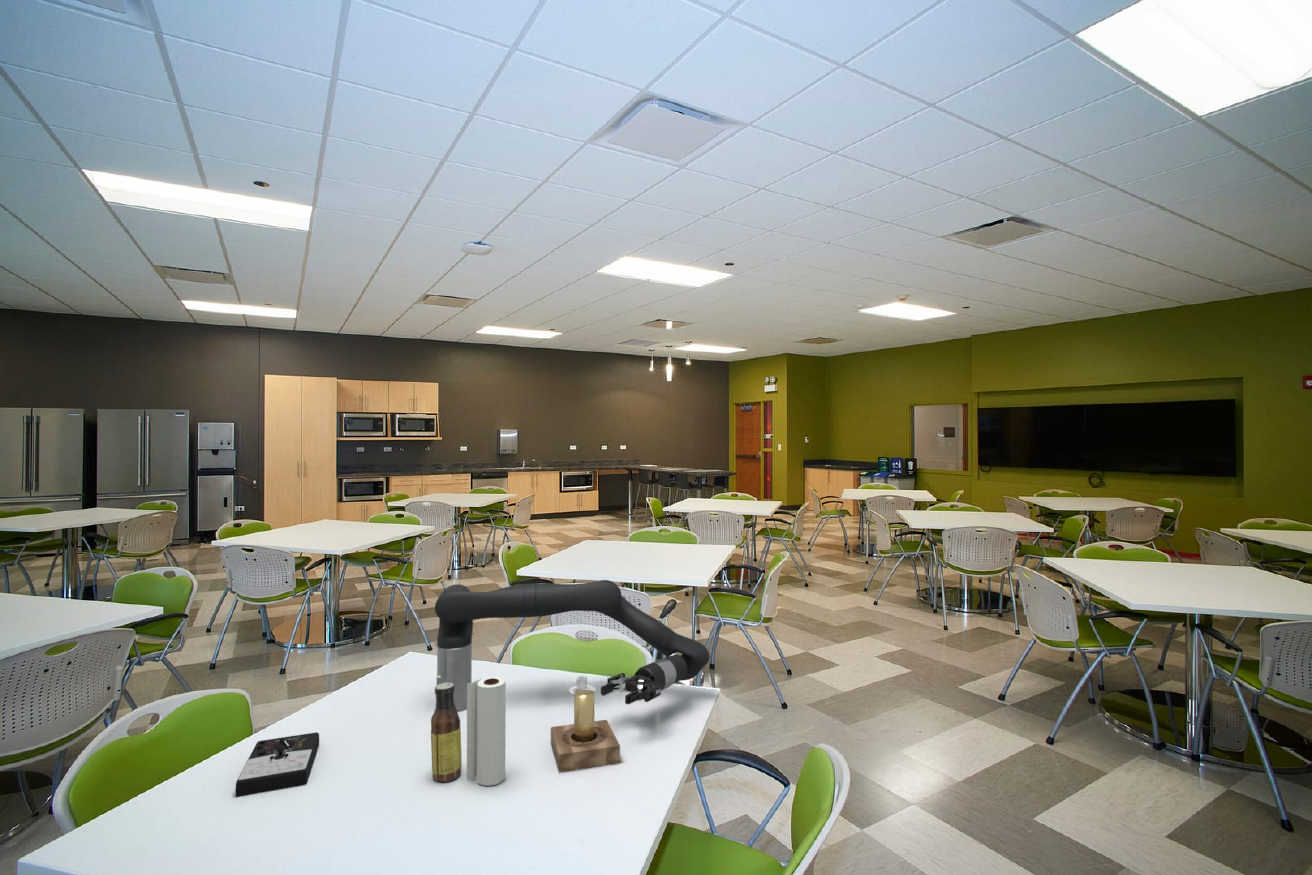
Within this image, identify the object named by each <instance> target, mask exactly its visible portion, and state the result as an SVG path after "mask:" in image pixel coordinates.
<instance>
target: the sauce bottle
mask: <svg viewBox="0 0 1312 875" xmlns="http://www.w3.org/2000/svg"><path fill="white" fill-rule="evenodd" d="M453 692H454V684H453V683H449V682H448V683H441V684H438V685H437V684H436V686H435V687H434V694H435V709H434V712H433V714H432V716H431V719H430V729H431V730H430V747H431V748H430V749H431V773H432V779H433V780H435V781H437V782H440V783H447V782H451V781H453V780H455V779H457V778H458V777H459V776H460V775H461V773H462V765H463V764H462V733H461V731H462V730H461V718H460V715H459V713H458V711H457V710H456V707H455V704H454V694H453Z"/></svg>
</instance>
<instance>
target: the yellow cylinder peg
mask: <svg viewBox="0 0 1312 875" xmlns="http://www.w3.org/2000/svg"><path fill="white" fill-rule="evenodd" d="M594 721H595V692H594V691H592V690H579V691H578V690H576V691H575V692H574V695H573V724H574V741H576V742H582V743H584V742H590V741H593V740H594Z"/></svg>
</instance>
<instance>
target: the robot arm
mask: <svg viewBox="0 0 1312 875" xmlns="http://www.w3.org/2000/svg"><path fill="white" fill-rule="evenodd" d="M434 611H435V615H436V616H437V617H438V618H439V619H438V620H439V621H438V622H439V625H438V633H437V637H436V642H437V643H436V644H437V646H436V649H437V651H436V652H437V654H436V655H437V658H436V685H438V684H441V683H448V682H449V683H453V684H454V692H453V694H454V704H455V707H456V710H457V712H461V711H463V710H467V684H469V683H472V682H473V681H472V680H473V679H472V672H473V671H472V667H473V666H472V664H473V663H472V661H473V660H472V659H473V658H472V649H473V648H472V645H473V644H472V642H473V641H472V640H473V629H474V628H473V627H474V621H475V620H481V619H483V620H484V619H509V618H510V619H512V618H513V619H514V618H537V617H540V618H541V617H546V616H553V615H558V614H563V613H567V612H579V611H580V612H581V611H582V612H595V613H596V612H597V613H600V614H602V615H605V616H607V617H609V618H611V619H613V620H614V621H616V622H618V623H619V624H621V625H622V626H624V627H626V628H627V629H629V630H630V631H631V632H633V633H634V634H636V635H637V636H638V637H639V638H640V639H642V640H643V641H644V642H646V643H647V644H648V645H650V647H652V648H653V649H655V650H656V651H658V652H659V653H660V654H662V655H664V656H666V657H664V658H662V659H658V660H655V661H653V662H651V663H648V664H645V665H644V666H640V667H639V668H638V669H637V670H636V672H635V673H634V675H629V676H626V673H624V672H621V673H619V674H616V675H612V676H610V677H607V679H606V681H607V682H606V683H607V684H605V685H602V686H601V687H600V695H601V696H606V695H608V694H612V693H613V692H620V693H628V694H626V695H625V696H624V703H625V705H631V704H632V703H635V702H637V701H638V702H641V701H643V700H644V702H645V703H649V702H650V701H652V700H654V699H656V698H658V697H660V696H661V695H662V691H664V690H666V689H668V688H669V687H671V686H672V685H674V684H676V683H678V682H680V681H689V680H691V679H693V678H695V677H696V676H697V675H699V673H700V672H701V671H702V670H703V668H705V666H706V665H708V663H709V661H710V658H711V656H710V652H709V650H708V648H707V647H706V646H705V645H704V644H703V643H701V642H700V641H698V640H694V639H692V638H689V637H688V636H685V635H682V634H679V633H677V632H675V631H674V630H672V629H671V628H670V627H668V626H667V625H666V624H664V623H662V621H660V620H658V619H656V618H654V616H652V615H649V614H648V613H646V612H644V611H642V610H641V609H639V608H637V606H635V605H633V604H632V603H631V602H630V601H629V600H628V599H626V598H625V597H624V595H622V591H621V589H620V587H619V585H618V584H616V583H615V582H614V581H613V580H608V579H603V580H602V579H601V580H597V581H591V582H585V583H583V582H582V583H576V584H563V583H523V584H522V583H521V584H515V585H510V586H506V587H503V588H499V589H493V590H490V591H471V590H470V589H469V588H468V587H467V586H466V585H463V584H460V583H459V584H458V583H457V584H455V583H454V584H452V585H448V586H447V587H446V588H445V589H444V590H443V591H441V593H440V595H439V596H438V597H437V599H436V602H435V604H434ZM675 653H678V654H680V655H678V654H675ZM623 685H624V687H625V688H623Z"/></svg>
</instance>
